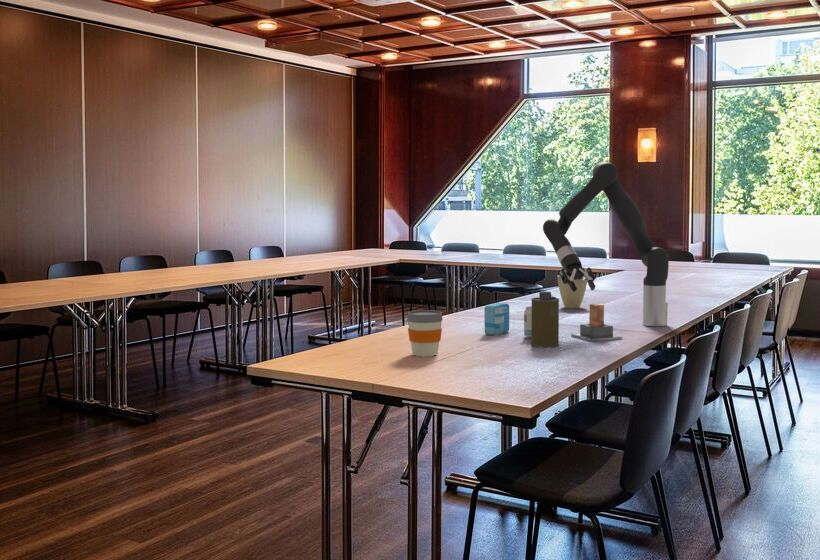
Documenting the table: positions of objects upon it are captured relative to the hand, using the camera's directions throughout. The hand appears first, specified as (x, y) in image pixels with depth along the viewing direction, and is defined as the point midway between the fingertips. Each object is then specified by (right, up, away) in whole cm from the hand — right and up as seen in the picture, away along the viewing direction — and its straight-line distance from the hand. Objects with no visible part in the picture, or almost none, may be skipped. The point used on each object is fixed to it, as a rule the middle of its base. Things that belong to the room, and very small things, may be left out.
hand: (584, 289), depth 333 cm
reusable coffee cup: (-64, -23, -36) cm, 77 cm away
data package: (-34, -18, +7) cm, 39 cm away
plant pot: (+11, -10, +82) cm, 83 cm away
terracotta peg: (+3, -18, -6) cm, 19 cm away
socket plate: (+3, -19, -6) cm, 20 cm away
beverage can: (-21, -19, -4) cm, 29 cm away
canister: (-19, -21, -20) cm, 35 cm away
